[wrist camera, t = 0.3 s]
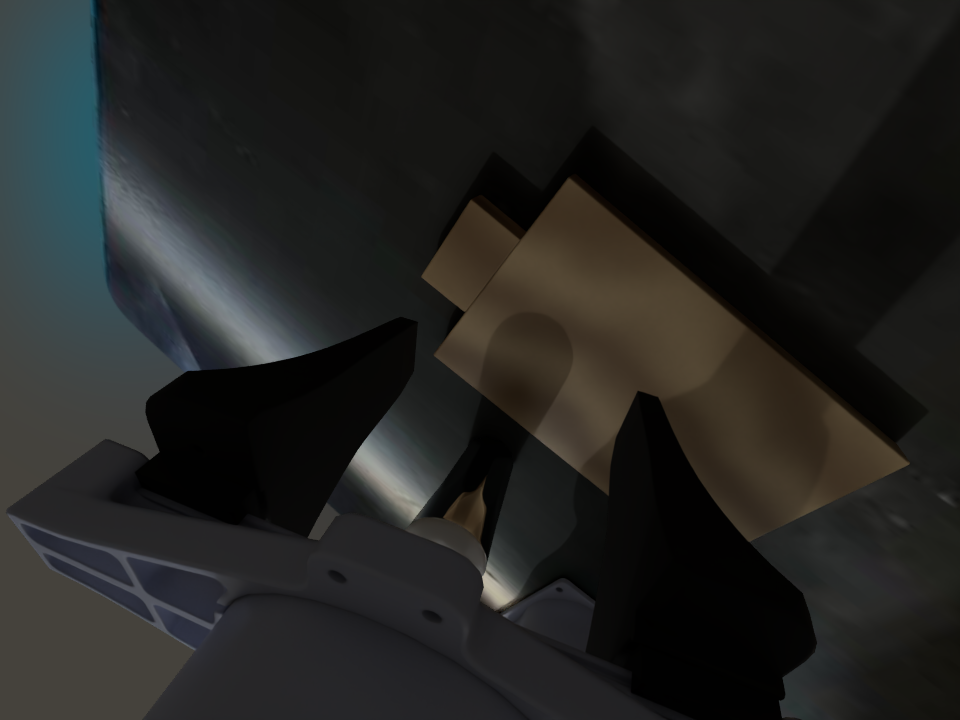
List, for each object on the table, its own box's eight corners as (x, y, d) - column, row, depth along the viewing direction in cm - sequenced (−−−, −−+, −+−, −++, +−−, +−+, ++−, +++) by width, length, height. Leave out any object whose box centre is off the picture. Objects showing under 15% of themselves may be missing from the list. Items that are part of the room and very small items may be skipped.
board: (695, 547, 29) (697, 567, 27) (403, 312, 28) (391, 322, 26) (897, 443, 22) (912, 464, 21) (523, 129, 21) (514, 130, 20)
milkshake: (442, 464, 32) (368, 587, 24) (476, 414, 29) (405, 536, 21) (497, 500, 32) (442, 636, 24) (536, 454, 29) (489, 592, 21)
